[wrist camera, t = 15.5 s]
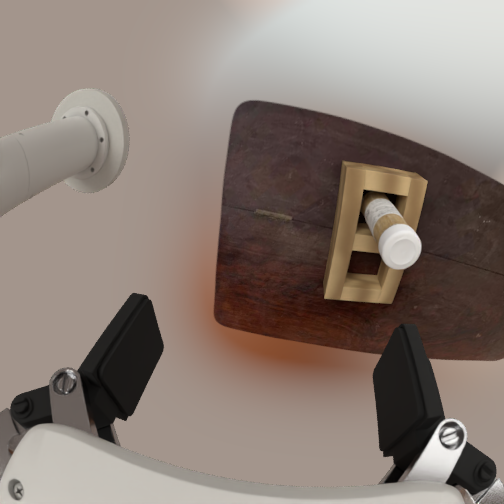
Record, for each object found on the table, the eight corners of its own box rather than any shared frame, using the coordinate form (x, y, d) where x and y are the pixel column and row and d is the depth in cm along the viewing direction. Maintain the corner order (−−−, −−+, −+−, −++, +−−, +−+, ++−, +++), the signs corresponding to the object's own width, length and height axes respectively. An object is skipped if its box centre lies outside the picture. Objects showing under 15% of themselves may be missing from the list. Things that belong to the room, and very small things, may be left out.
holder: (323, 283, 45) (324, 298, 41) (342, 160, 34) (346, 167, 31) (386, 288, 43) (391, 303, 40) (416, 173, 33) (427, 181, 30)
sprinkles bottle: (383, 222, 38) (412, 274, 26) (355, 215, 38) (375, 266, 27) (393, 194, 35) (429, 237, 24) (364, 185, 36) (391, 226, 24)
